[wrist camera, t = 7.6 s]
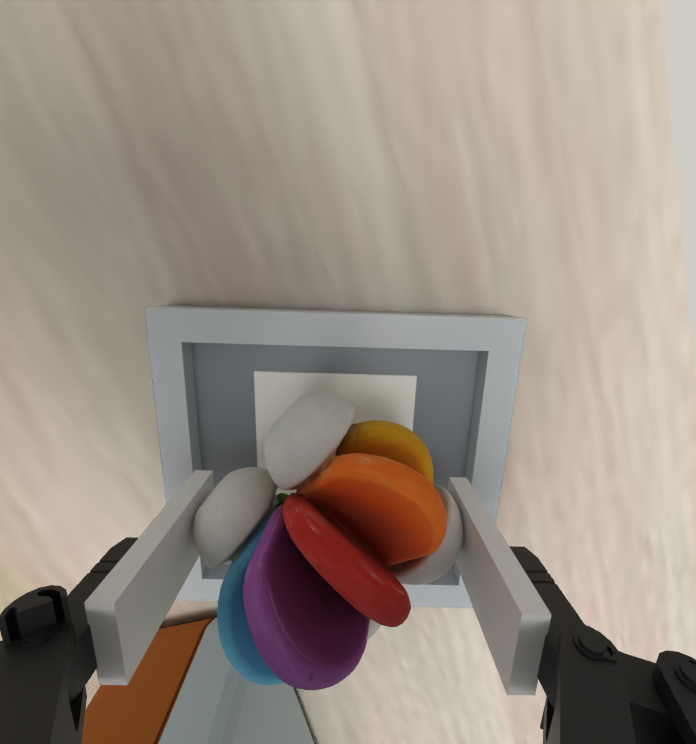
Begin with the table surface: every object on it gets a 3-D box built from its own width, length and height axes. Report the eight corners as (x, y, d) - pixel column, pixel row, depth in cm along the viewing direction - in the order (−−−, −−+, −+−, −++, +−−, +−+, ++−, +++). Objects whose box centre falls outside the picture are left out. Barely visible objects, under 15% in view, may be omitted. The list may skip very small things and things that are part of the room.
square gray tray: (169, 305, 17) (144, 307, 15) (505, 314, 18) (526, 318, 15) (194, 569, 21) (176, 600, 19) (469, 576, 21) (482, 608, 19)
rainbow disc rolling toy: (475, 478, 15) (582, 640, 8) (330, 607, 17) (317, 831, 10) (334, 351, 14) (319, 415, 7) (192, 505, 16) (65, 681, 9)
